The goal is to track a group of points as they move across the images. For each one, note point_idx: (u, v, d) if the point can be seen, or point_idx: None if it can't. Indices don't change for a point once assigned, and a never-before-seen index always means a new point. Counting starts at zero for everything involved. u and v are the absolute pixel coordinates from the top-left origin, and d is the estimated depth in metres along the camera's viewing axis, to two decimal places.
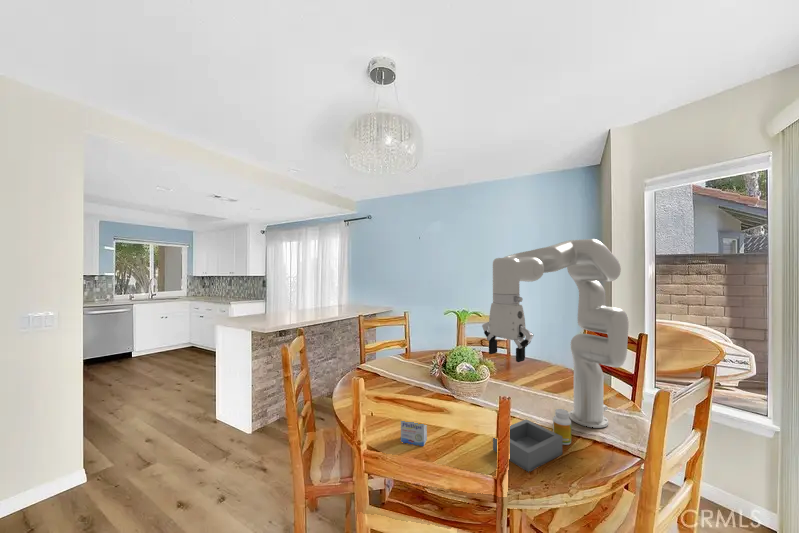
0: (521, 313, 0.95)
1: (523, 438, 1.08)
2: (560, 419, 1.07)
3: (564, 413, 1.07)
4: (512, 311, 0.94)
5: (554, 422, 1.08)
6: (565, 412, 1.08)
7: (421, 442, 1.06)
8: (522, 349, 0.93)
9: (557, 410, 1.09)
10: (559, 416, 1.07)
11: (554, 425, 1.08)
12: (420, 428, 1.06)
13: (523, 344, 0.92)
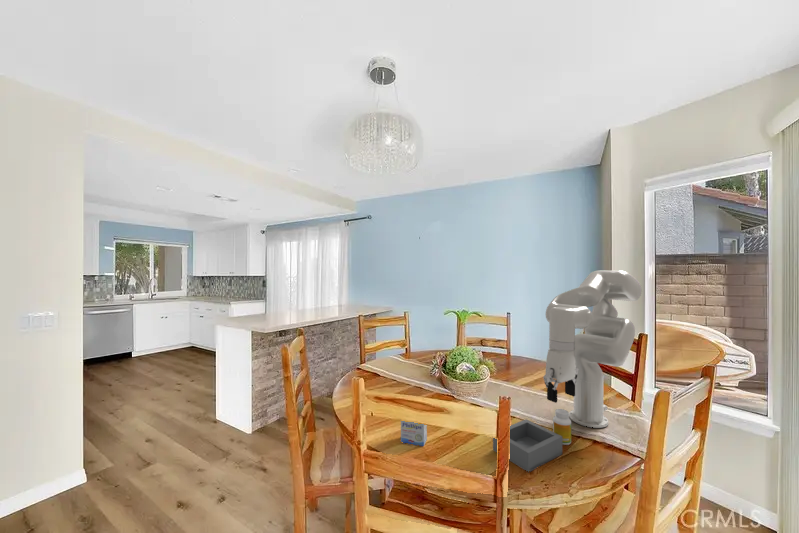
0: None
1: (523, 438, 1.08)
2: (560, 419, 1.07)
3: (564, 413, 1.07)
4: (573, 354, 1.08)
5: (554, 422, 1.08)
6: (565, 412, 1.08)
7: (421, 442, 1.06)
8: None
9: (557, 410, 1.09)
10: (559, 416, 1.07)
11: (554, 425, 1.08)
12: (420, 428, 1.06)
13: (575, 379, 1.11)
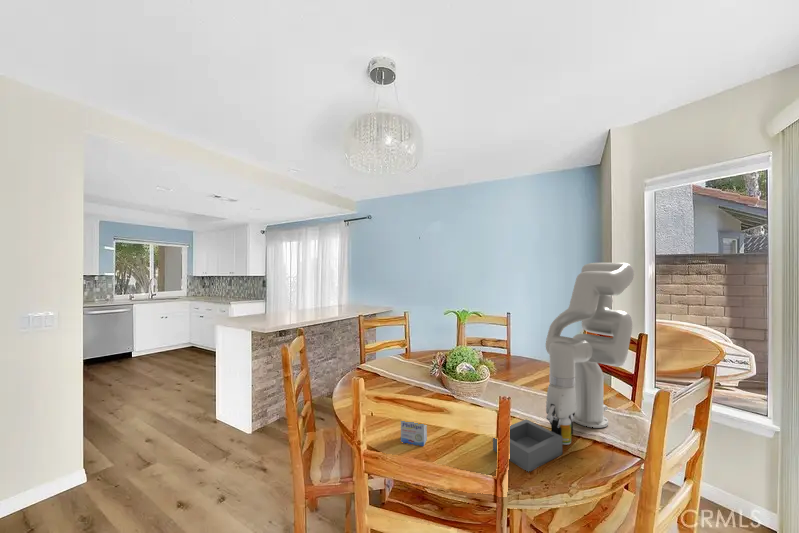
0: None
1: (523, 438, 1.08)
2: None
3: None
4: (574, 388, 1.08)
5: None
6: None
7: (421, 442, 1.06)
8: None
9: None
10: None
11: None
12: (420, 428, 1.06)
13: (572, 416, 1.10)
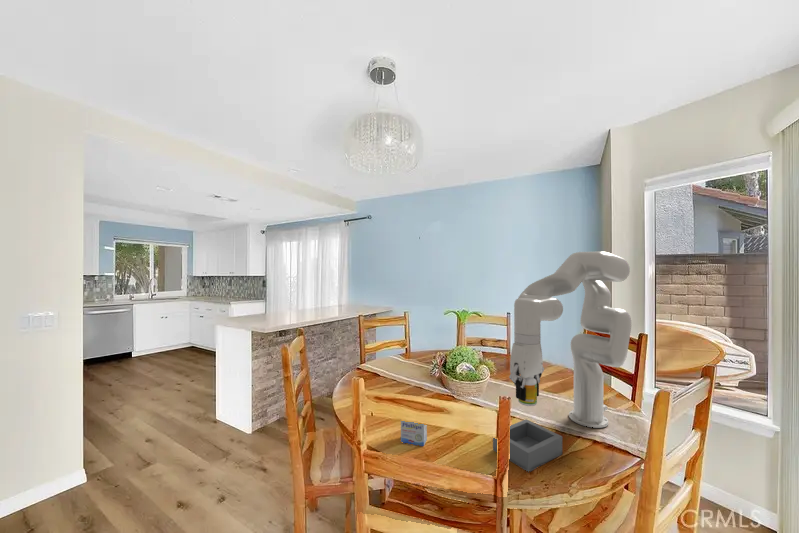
0: None
1: (523, 438, 1.08)
2: None
3: None
4: (540, 347, 1.02)
5: None
6: None
7: (421, 442, 1.06)
8: None
9: None
10: None
11: None
12: (420, 428, 1.06)
13: (539, 378, 1.04)
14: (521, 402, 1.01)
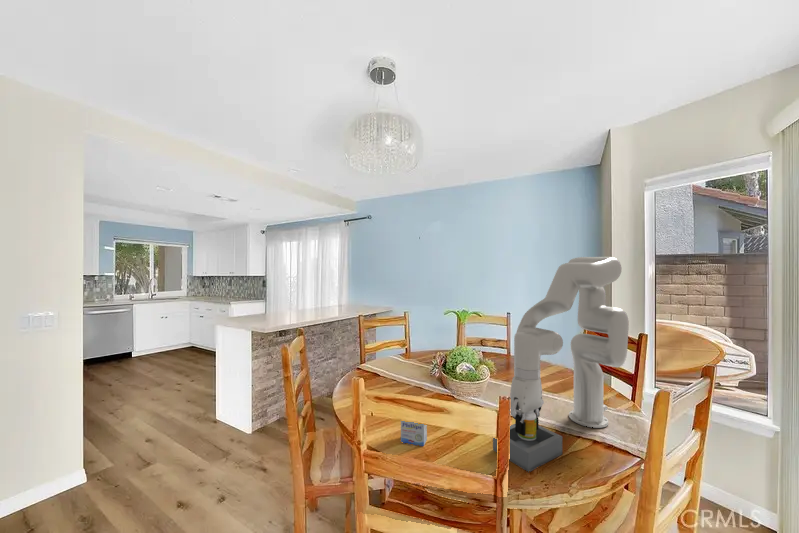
0: None
1: None
2: None
3: None
4: (539, 381, 1.02)
5: None
6: None
7: (421, 442, 1.06)
8: None
9: None
10: None
11: None
12: (420, 428, 1.06)
13: (538, 411, 1.04)
14: (521, 436, 1.01)
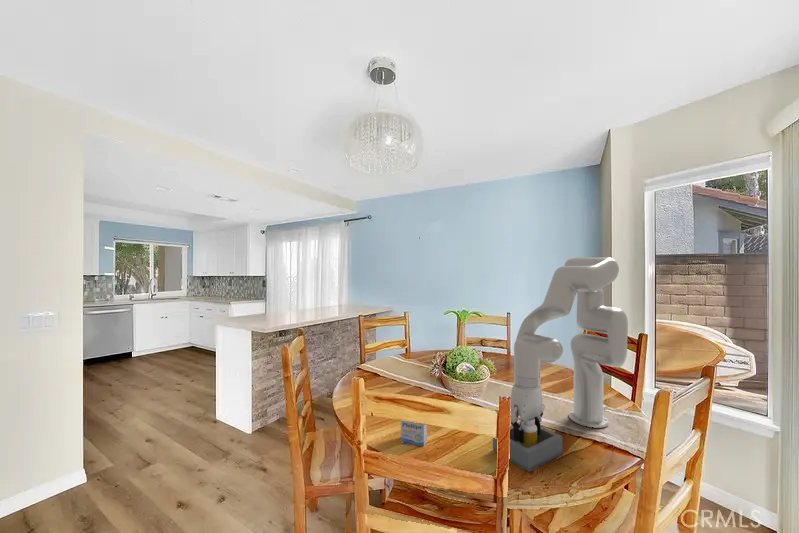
0: None
1: None
2: (525, 426, 1.01)
3: (529, 419, 1.01)
4: (539, 389, 1.02)
5: None
6: (531, 418, 1.02)
7: (421, 442, 1.06)
8: None
9: None
10: (524, 423, 1.01)
11: None
12: (420, 428, 1.06)
13: (540, 416, 1.04)
14: None
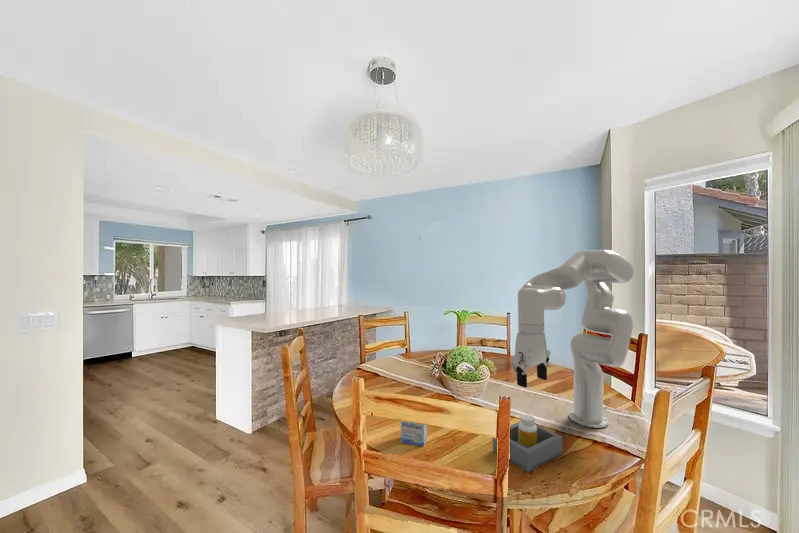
0: None
1: None
2: (525, 426, 1.01)
3: (529, 419, 1.01)
4: (544, 336, 1.03)
5: (519, 429, 1.02)
6: (531, 418, 1.02)
7: (421, 442, 1.06)
8: None
9: (523, 416, 1.03)
10: (524, 423, 1.01)
11: (519, 432, 1.02)
12: (420, 428, 1.06)
13: (546, 362, 1.06)
14: None
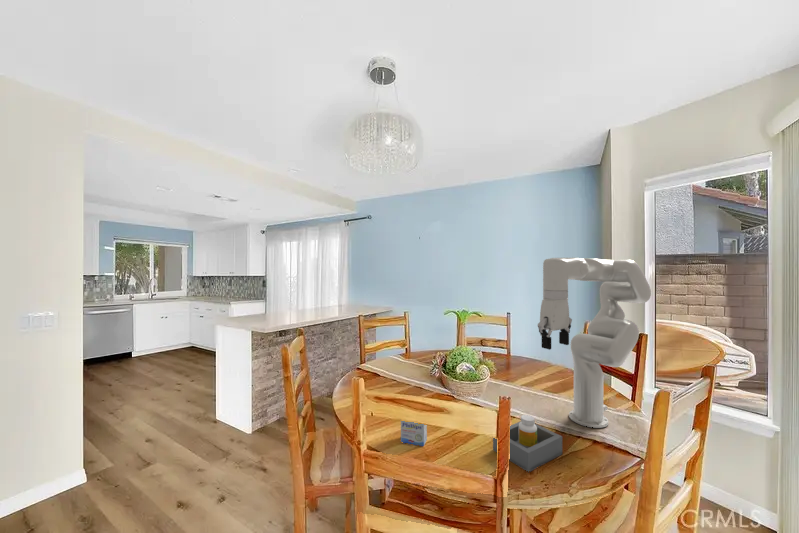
0: None
1: None
2: (525, 426, 1.01)
3: (529, 419, 1.01)
4: (567, 303, 1.11)
5: (519, 429, 1.02)
6: (531, 418, 1.02)
7: (421, 442, 1.06)
8: None
9: (523, 416, 1.03)
10: (524, 423, 1.01)
11: (519, 432, 1.02)
12: (420, 428, 1.06)
13: (568, 328, 1.14)
14: None
